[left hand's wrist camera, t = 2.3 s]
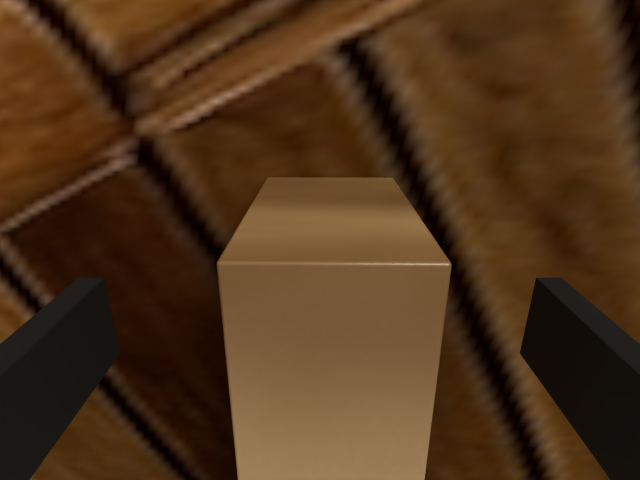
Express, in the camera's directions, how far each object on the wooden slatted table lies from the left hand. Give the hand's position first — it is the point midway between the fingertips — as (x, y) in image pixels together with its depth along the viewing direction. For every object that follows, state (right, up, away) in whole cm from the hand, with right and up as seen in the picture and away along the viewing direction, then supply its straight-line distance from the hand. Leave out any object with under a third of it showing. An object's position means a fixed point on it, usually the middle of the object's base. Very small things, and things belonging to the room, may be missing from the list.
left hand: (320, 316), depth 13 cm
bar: (0, -6, +7) cm, 10 cm away
